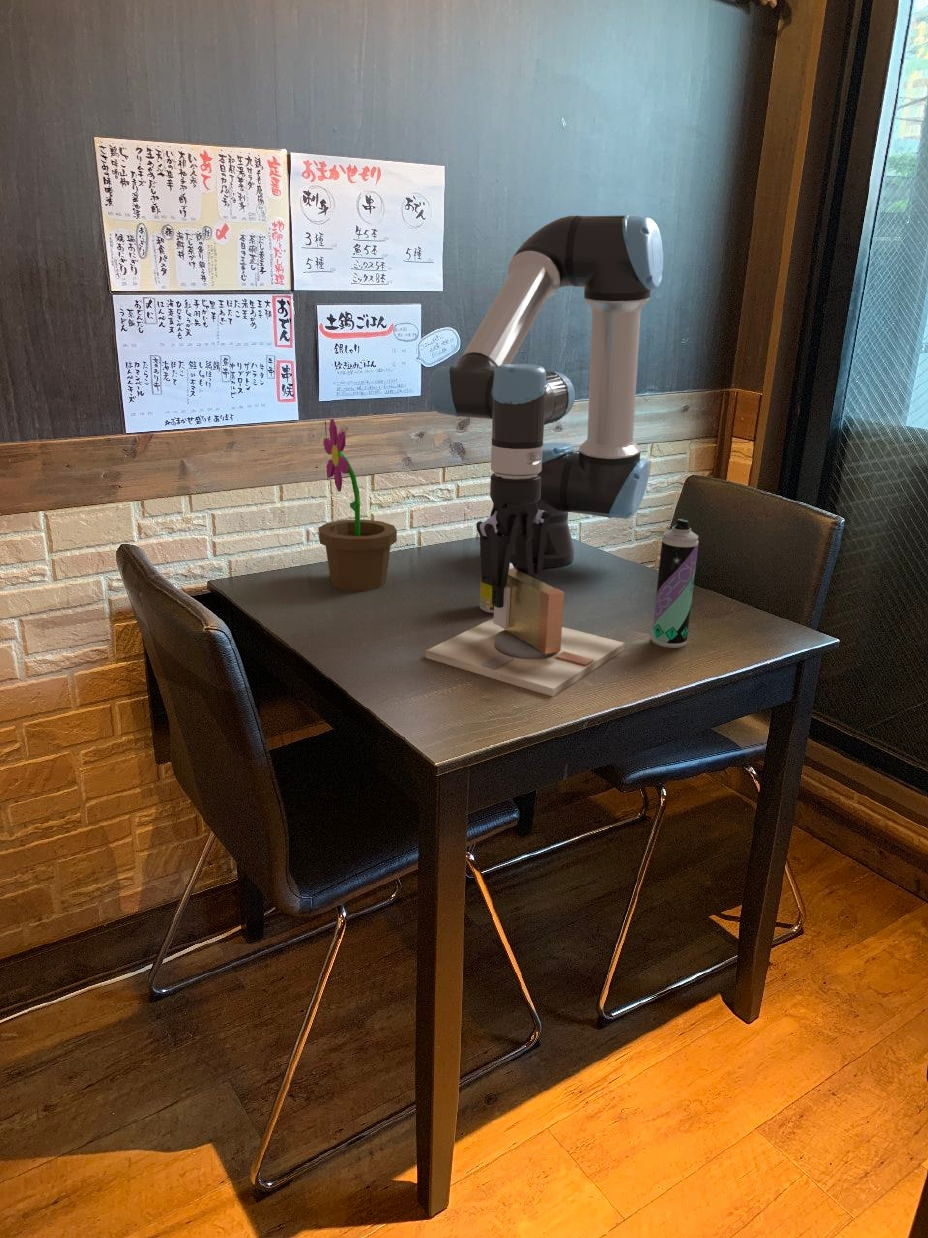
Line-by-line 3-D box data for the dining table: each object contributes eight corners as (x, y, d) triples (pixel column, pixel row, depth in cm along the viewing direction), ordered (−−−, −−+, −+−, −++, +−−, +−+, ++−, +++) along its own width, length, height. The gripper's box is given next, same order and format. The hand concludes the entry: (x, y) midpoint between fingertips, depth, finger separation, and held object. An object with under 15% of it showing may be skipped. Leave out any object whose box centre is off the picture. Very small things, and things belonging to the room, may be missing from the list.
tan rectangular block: (497, 626, 146) (499, 570, 143) (511, 624, 147) (514, 567, 144) (545, 655, 135) (549, 594, 132) (560, 652, 137) (564, 592, 134)
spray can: (645, 637, 150) (657, 516, 143) (673, 633, 152) (687, 514, 145) (664, 649, 146) (677, 525, 139) (693, 645, 147) (708, 522, 141)
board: (505, 618, 157) (506, 605, 156) (624, 650, 145) (625, 635, 144) (425, 657, 140) (426, 642, 139) (552, 696, 128) (553, 680, 127)
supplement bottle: (491, 616, 157) (494, 558, 154) (473, 607, 162) (475, 550, 158) (518, 611, 160) (521, 554, 157) (499, 602, 165) (501, 546, 161)
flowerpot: (308, 575, 176) (303, 414, 165) (379, 567, 182) (378, 412, 172) (334, 598, 164) (331, 426, 154) (409, 589, 170) (410, 423, 160)
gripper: (492, 485, 129) (487, 642, 137) (573, 471, 139) (564, 618, 147) (457, 476, 134) (455, 627, 143) (537, 463, 144) (531, 605, 153)
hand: (510, 622), depth 145 cm, fingers closed on tan rectangular block, 3 cm apart
